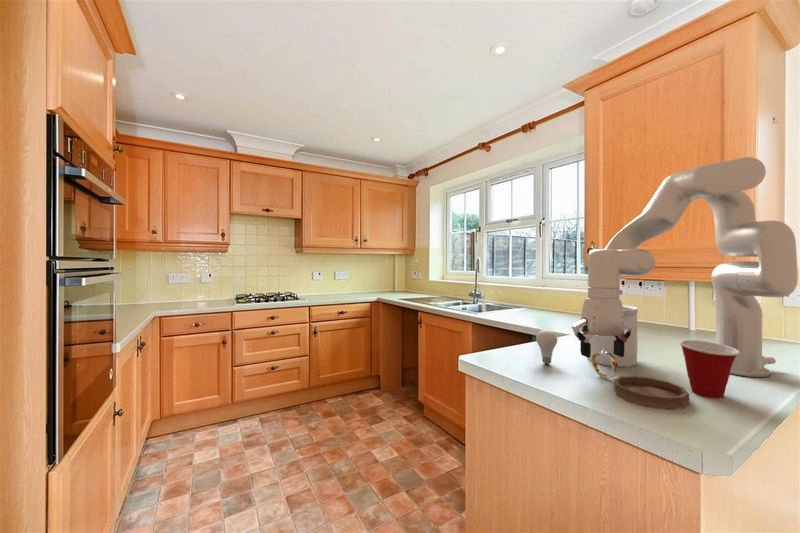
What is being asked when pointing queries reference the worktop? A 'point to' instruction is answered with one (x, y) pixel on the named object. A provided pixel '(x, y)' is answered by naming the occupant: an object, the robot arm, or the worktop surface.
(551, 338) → the lightbulb
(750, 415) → the worktop surface
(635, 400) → the ring dish
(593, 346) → the utensil holder
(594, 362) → the gold round band
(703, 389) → the plastic cup
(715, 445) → the worktop surface
